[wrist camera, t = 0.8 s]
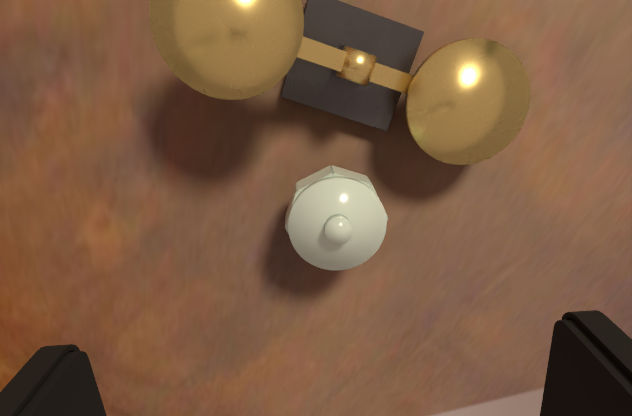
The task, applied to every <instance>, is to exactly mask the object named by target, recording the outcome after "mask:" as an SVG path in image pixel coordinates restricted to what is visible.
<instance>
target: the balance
mask: <svg viewBox="0 0 632 416" xmlns="http://www.w3.org/2000/svg"><path fill="white" fill-rule="evenodd" d="M149 18H150V25H151V30H152V34H153V38H154V41H155V43H156V46H157V48H158V50H159V52H160V54H161V56H162V58H163V60H164V61H165V62H166V64H167V65H168V67H169V68H170V69H171V70H172V71H173V73H174V74H175V75H176V76H177V77H178V78H179V79H181V80H182V81H183V82H184V83H185V84H187V85H188V86H190V87H191V88H193V89H194V90H196V91H198V92H200V93H202V94H205V95H208V96H210V97H214V98H218V99H226V100H239V99H246V98H250V97H253V96H257V95H259V94H261V93H263V92H265V91H267V90H269V89H270V88H272V87H273V86H274V85H276V84H277V83H278V82H279V81H280V80H281V79H282V78H283V77H284V76H285V75H286V74H287V76H286V80H285V83H284V87H283V90H282V94H281V97H282V98H286V99H289V100H292V101H295V102H298V103H301V104H304V105H307V106H310V107H313V108H317V109H320V110H323V111H326V112H329V113H332V114H335V115H338V116H341V117H344V118H348V119H351V120H354V121H357V122H360V123H363V124H366V125H369V126H372V127H375V128H379V129H382V130H385V131H387V130H388V127H389V124H390V122H391V119H392V116H393V114H394V111H395V108H396V106H397V103H398V100H399V98H400V95H401V92H403V93H406V94H407V95H406V101H405V116H406V121H407V126H408V128H409V131H410V133H411V135H412V137H413V139H414V140H415V142H416V143H417V144H418V146H419V147H420V148H421V149H422V150H424V151H425V152H426V153H427V154H429V155H430V156H431V157H433V158H435V159H437V160H439V161H442V162H444V163H448V164H454V165H468V164H474V163H478V162H481V161H484V160H486V159H488V158H490V157H492V156H494V155H496V154H497V153H498V152H500V151H501V150H503V149H504V148H505V147H506V146H507V145H508V144H509V143H510V142H511V141H512V140H513V139H514V137H515V136H516V135H517V133H518V132H519V130H520V128H521V126H522V125H523V123H524V120H525V118H526V115H527V111H528V108H529V101H530V86H529V80H528V76H527V73H526V71H525V68H524V66H523V65H522V63H521V61H520V60H519V59H518V57H517V56H516V55H515V54H514V53H513V52H512V51H511V50H510V49H508V48H507V47H505V46H504V45H502V44H500V43H498V42H495V41H492V40H488V39H481V38H471V39H463V40H458V41H455V42H451V43H449V44H447V45H445V46H443V47H441V48H439V49H438V50H436V51H435V52H434V53H432V54H431V55H430V56H429V57H428V58H427V59H426V60H425V61H424V62H423V63H422V64H421V65H420V67H419V68H418V69H417V71H416V73H415V74H414V76H413V75H410V74H409V71H410V68H411V66H412V63H413V60H414V58H415V55H416V52H417V50H418V47H419V44H420V42H421V39H422V36H423V34H424V32H423V31H420V30H417V29H415V28H412V27H409V26H406V25H404V24H401V23H398V22H395V21H393V20H390V19H387V18H384V17H382V16H379V15H376V14H373V13H371V12H368V11H365V10H362V9H360V8H357V7H354V6H351V5H349V4H346V3H343V2H340V1H338V0H308V3H307V6H306V10H305V13H304V14H303V7H302V2H301V0H150V4H149Z"/></svg>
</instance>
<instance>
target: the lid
mask: <svg viewBox="0 0 632 416" xmlns="http://www.w3.org/2000/svg"><path fill="white" fill-rule="evenodd" d="M387 217H388V216H387V214H386V212H385V210H384V208H383V205H382V203H381V202H380V200H379V198H378V195H377V193H376V191H375V189H374V187H373V185H372V183H371V182H370V180H369V178H368V177H367V176H366V175H362V174H359V173H356V172H353V171H349V170H346V169H343V168H340V167H336V166H333V165H332V166H328V167H326V168H324V169H322V170H320V171H318V172H316V173H314V174H312V175H310V176H308V177H306V178H304V179H302V180H300V181H298V182H297V183H296V185H295V188H294V191H293V194H292V197H291V200H290V204H289V207H288V210H287V213H286V216H285V229H286V231H287V232H288V234H289V237H290V240H291V243H292V245H293V247H294V249H295V250H296V252H297V253H298V254H299V255H300V256H301V257H302V258H303V259H304V260H305V261H307V262H308V263H310V264H311V265H314V266H316V267H318V268H321V269H326V270H334V271H335V270H346V269H350V268H353V267H356V266H358V265H360V264H362V263H364V262H365V261H367V260H368V259H369V258H370V257H372V256H373V255H374V253H375V252H376V251H377V250H378V248H379V247H380V245H381V243H382V241H383V239H384V236H385V232H386V224H387V220H388V218H387Z"/></svg>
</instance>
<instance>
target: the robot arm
mask: <svg viewBox="0 0 632 416" xmlns="http://www.w3.org/2000/svg"><path fill="white" fill-rule="evenodd" d="M0 416H106V413H105V409H104V406H103V403H102V400H101V397H100V393H99V390H98V387H97V384H96V381H95V377H94V374H93V371H92V368H91V365H90V361H89V358H88V356H87V354H86V353H85V352H83V351H80V350H79V348H78V347H77V346H76V345H72V344H71V345H56V346H44V347H41V348H40V349H39V350H38V351H37V352H36V353H35V354H34V355H33V356H32V357H31V358H30V360H29V361H28V362H27V363H26V364H25V365H24V366H23V367H22V369H21V370H20V371H19V372H18V373H17V374H16V375H15V377H14V378H13V379H12V380H11V381H10V382H9V383H8V384H7V386H6V387H5V388H4V389H3V390H2V391H1V392H0ZM540 416H632V339H631V338H629V337H628V336H627V335H626V334H625V333H624V332H623V331H622V330H621V329H620V328H618V327H617V326H616V325H615V324H614V323H613V322H612V321H611V320H610V319H609V318H608V317H606V316H605V315H604V314H603V313H601V312H600V311H596V310H594V311H579V312H567V313H565V314H564V315H563V317H562V320H559V321H557V322H556V323H555V325H554V330H553V336H552V343H551V349H550V355H549V362H548V368H547V374H546V381H545V387H544V393H543V400H542V406H541V412H540Z"/></svg>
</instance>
